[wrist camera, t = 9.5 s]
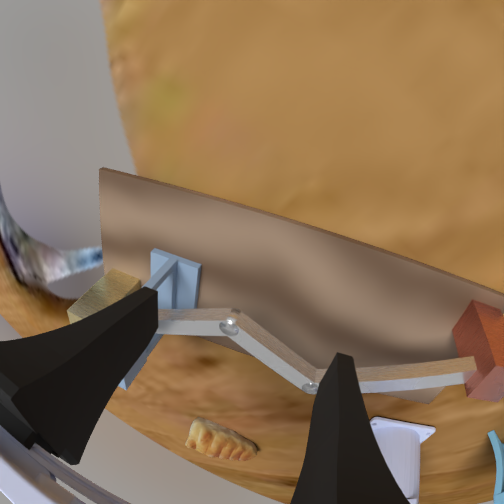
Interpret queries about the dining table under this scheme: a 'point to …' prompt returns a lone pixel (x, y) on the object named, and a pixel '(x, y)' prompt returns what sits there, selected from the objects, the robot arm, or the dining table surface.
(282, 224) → the tan flat sheet
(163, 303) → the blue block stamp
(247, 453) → the pastry
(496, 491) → the vase
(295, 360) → the jointed linkage mechanism
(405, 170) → the dining table surface
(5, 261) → the dining table surface
